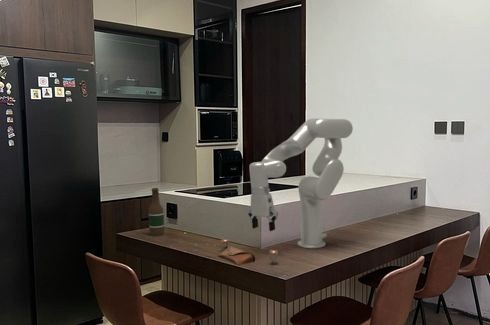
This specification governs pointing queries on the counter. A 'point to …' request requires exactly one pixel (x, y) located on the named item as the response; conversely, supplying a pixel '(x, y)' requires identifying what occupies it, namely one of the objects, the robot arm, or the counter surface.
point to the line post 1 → (224, 244)
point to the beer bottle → (156, 215)
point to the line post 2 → (273, 257)
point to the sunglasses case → (237, 256)
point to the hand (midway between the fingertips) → (263, 229)
